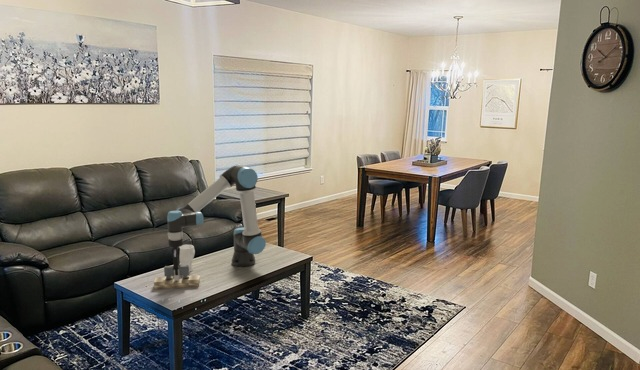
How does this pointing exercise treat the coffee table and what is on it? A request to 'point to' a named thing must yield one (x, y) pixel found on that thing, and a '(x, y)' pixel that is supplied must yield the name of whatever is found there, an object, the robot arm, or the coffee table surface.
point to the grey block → (182, 271)
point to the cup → (187, 255)
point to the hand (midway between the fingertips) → (177, 279)
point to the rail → (176, 282)
